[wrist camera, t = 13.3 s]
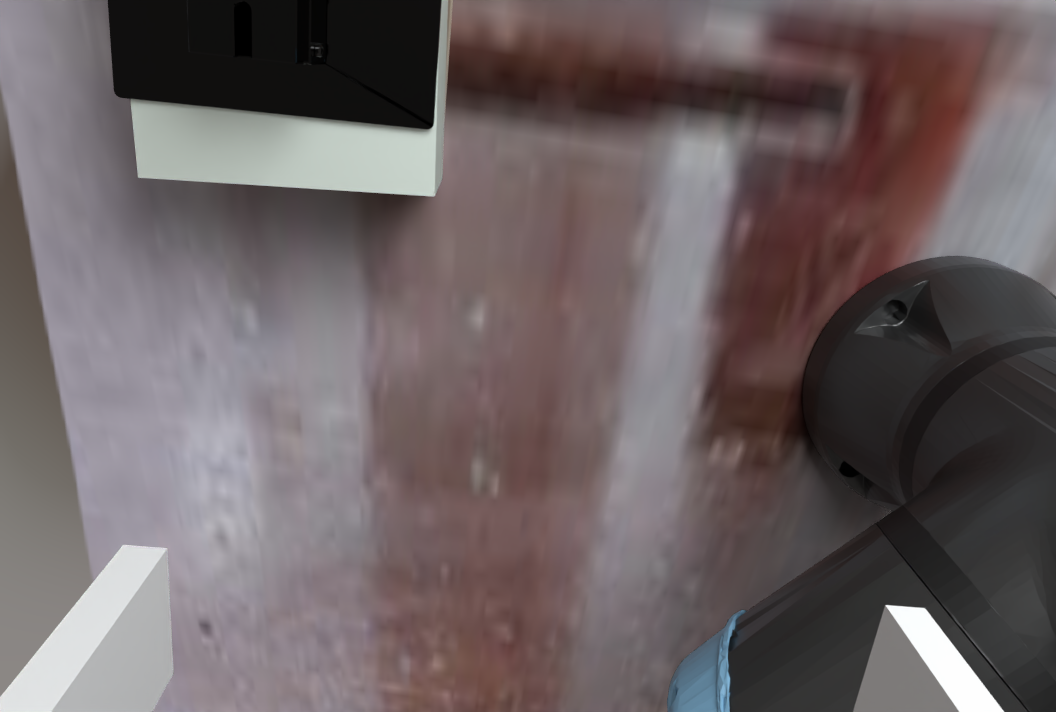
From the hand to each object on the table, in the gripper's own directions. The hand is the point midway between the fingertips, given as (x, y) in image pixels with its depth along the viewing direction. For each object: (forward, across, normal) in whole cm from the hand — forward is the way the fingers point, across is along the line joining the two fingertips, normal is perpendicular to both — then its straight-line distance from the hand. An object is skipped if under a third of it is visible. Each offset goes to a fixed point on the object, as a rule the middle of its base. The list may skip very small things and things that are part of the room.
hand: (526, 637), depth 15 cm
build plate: (+22, +10, -11) cm, 26 cm away
